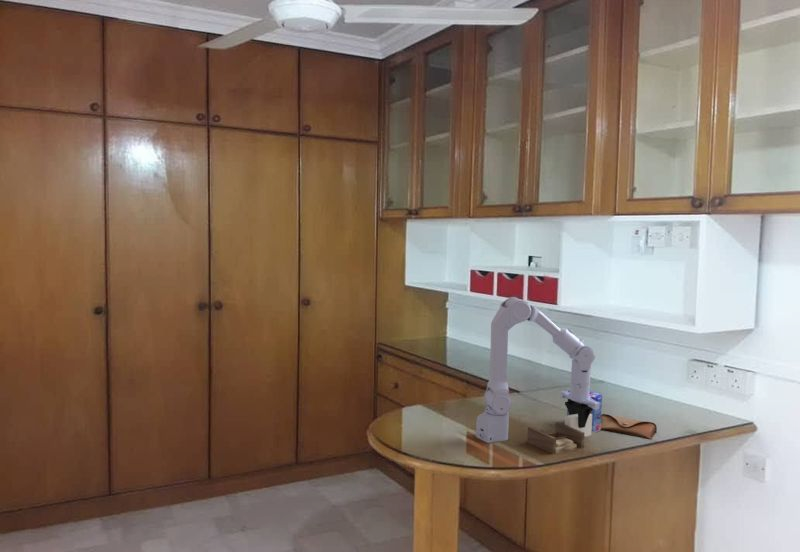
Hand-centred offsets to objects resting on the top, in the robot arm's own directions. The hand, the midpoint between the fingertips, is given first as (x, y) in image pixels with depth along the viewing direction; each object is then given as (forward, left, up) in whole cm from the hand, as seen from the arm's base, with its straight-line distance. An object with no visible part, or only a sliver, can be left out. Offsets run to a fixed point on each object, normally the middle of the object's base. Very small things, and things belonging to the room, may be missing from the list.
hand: (578, 425), depth 197 cm
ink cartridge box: (+9, +7, -4) cm, 12 cm away
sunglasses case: (+21, -1, -5) cm, 21 cm away
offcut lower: (-12, -6, -3) cm, 14 cm away
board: (0, 0, -4) cm, 4 cm away
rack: (-12, -3, -4) cm, 13 cm away
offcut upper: (-12, -6, -2) cm, 13 cm away
